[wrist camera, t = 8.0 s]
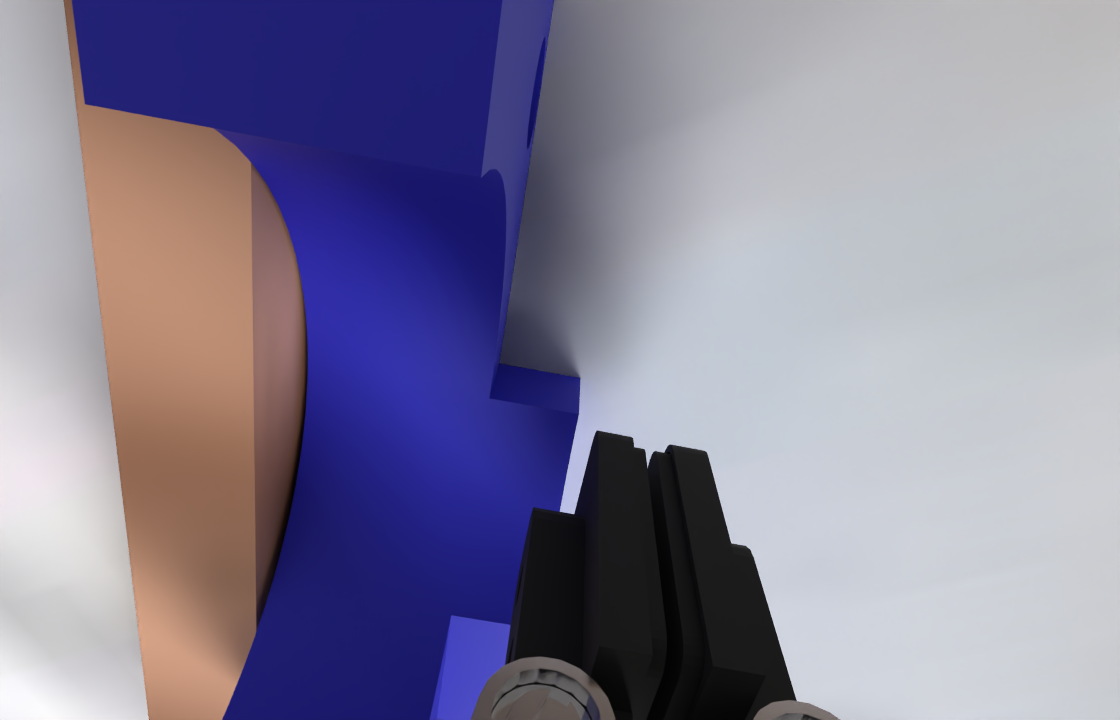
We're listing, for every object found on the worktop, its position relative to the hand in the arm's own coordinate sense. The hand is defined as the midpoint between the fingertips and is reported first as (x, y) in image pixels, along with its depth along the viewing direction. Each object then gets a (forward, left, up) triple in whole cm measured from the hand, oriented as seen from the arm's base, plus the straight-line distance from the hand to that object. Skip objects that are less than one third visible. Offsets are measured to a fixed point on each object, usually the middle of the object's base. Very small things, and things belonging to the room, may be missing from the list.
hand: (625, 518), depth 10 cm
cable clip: (-1, -3, -3) cm, 4 cm away
